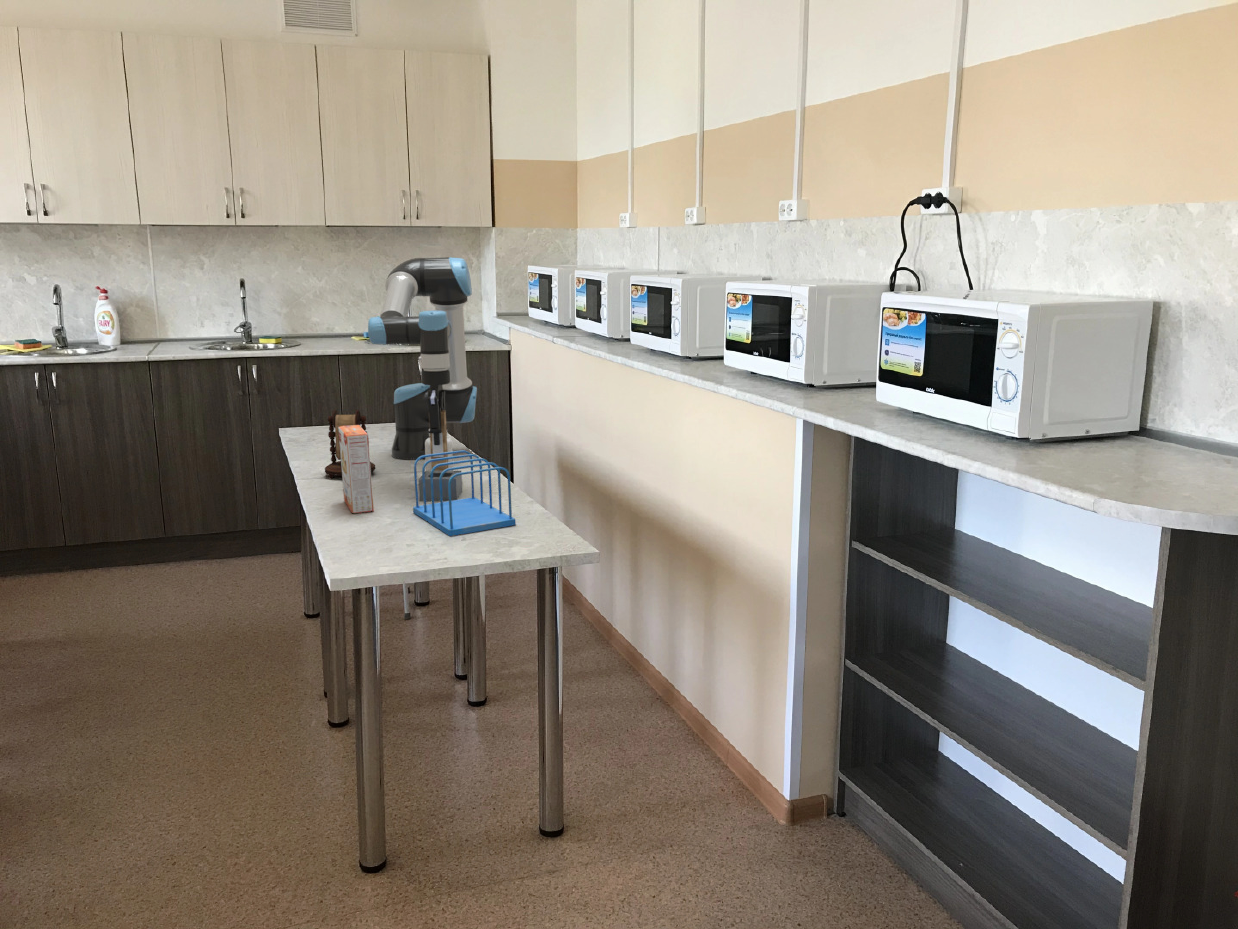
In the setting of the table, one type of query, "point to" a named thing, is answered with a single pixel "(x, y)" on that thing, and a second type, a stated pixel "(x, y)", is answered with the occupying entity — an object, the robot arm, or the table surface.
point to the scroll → (336, 422)
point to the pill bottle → (428, 451)
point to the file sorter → (462, 500)
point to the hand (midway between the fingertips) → (439, 454)
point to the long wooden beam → (444, 433)
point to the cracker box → (356, 468)
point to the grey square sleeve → (455, 486)
